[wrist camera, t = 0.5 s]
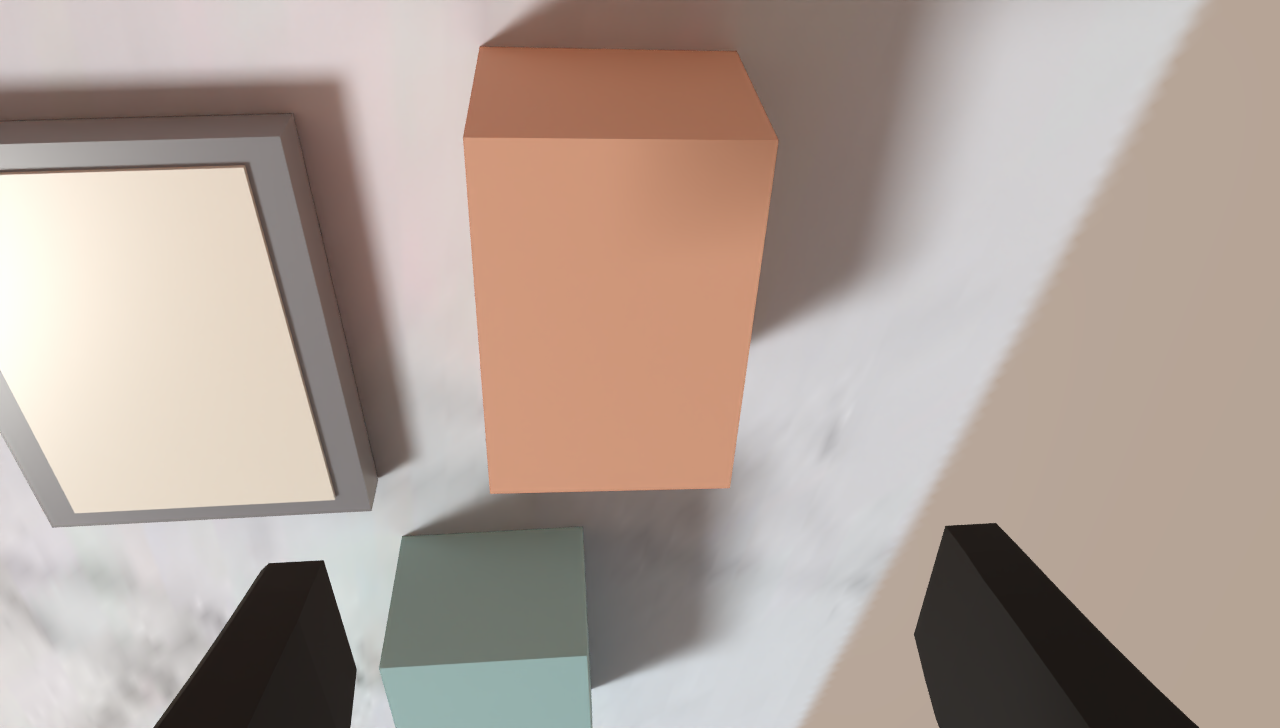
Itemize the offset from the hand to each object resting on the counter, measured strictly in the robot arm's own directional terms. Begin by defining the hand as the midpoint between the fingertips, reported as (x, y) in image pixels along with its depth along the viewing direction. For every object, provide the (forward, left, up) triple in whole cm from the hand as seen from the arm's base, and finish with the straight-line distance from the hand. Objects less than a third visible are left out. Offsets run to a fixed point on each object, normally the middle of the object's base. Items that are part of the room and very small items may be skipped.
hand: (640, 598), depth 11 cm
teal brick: (-12, +3, -9) cm, 15 cm away
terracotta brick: (0, 0, -9) cm, 9 cm away
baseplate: (-2, +9, -9) cm, 13 cm away
